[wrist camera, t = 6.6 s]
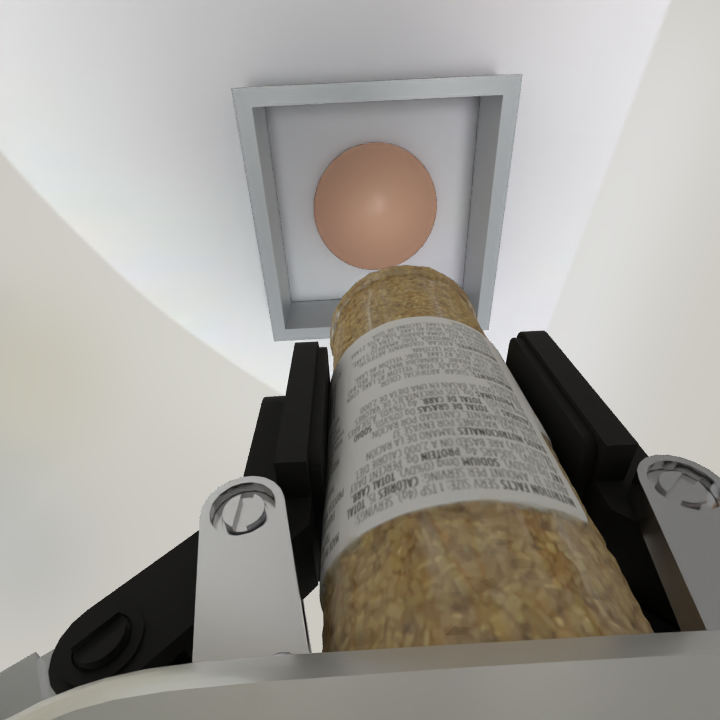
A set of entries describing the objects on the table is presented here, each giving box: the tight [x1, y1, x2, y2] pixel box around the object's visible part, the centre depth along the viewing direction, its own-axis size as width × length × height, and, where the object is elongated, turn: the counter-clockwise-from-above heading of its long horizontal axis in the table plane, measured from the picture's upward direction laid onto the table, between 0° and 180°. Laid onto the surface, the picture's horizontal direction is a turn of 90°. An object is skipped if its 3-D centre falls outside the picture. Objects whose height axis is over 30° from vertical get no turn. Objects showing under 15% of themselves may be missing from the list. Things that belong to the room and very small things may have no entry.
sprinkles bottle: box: [320, 265, 654, 653], centre depth 8 cm, size 5×4×14 cm
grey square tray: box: [232, 74, 523, 341], centre depth 26 cm, size 14×14×4 cm
